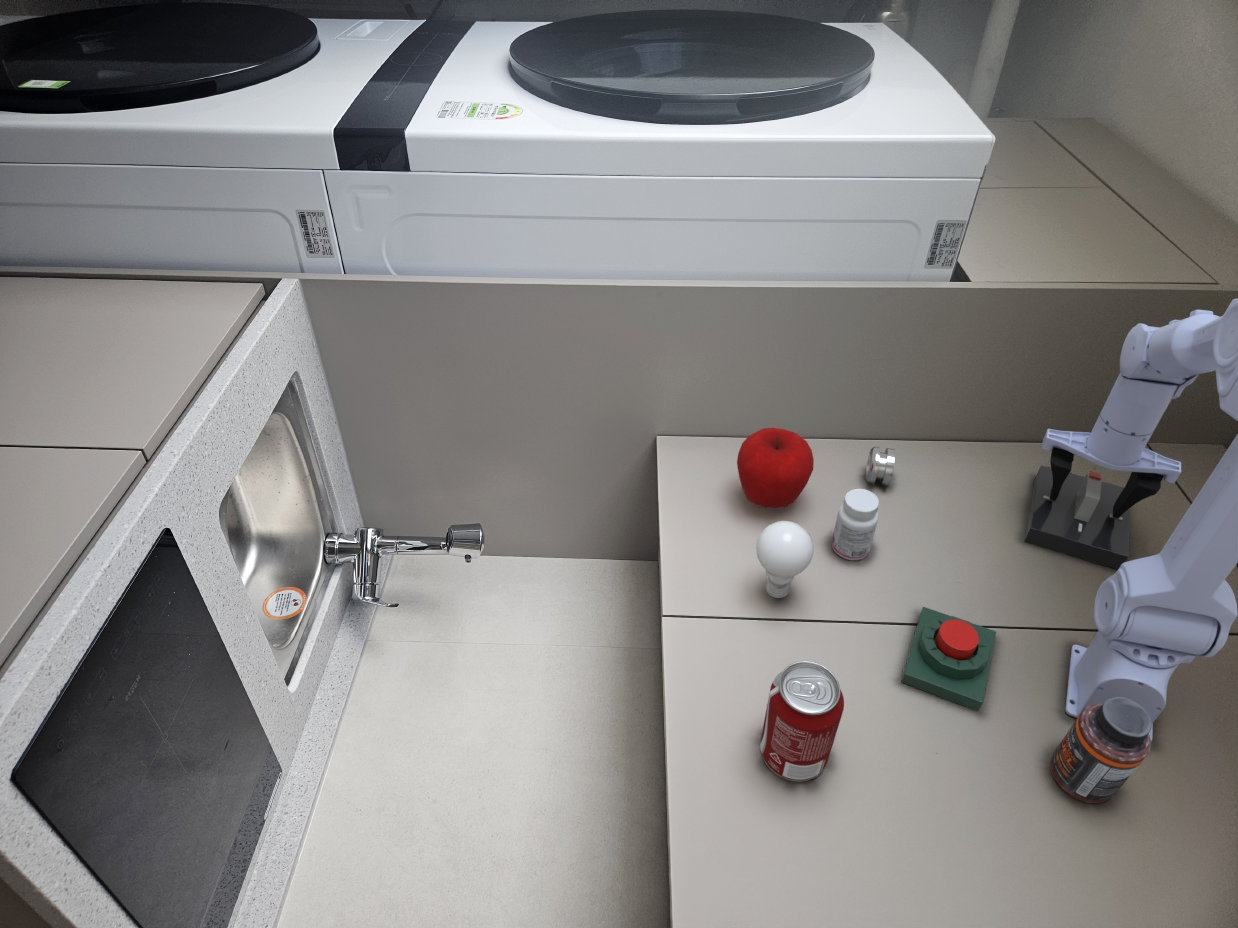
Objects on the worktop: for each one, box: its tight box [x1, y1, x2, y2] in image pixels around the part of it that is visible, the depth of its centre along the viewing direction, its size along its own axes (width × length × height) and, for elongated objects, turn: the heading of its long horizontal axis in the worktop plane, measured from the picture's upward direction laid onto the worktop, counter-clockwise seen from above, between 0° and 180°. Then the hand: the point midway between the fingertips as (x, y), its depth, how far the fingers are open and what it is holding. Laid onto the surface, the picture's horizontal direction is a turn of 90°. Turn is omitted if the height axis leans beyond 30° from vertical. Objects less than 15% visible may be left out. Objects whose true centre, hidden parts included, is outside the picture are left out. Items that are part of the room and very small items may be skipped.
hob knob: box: [1074, 470, 1103, 522], centre depth 101 cm, size 5×2×4 cm, turn 154°
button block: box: [901, 606, 997, 712], centre depth 88 cm, size 10×8×4 cm
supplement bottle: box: [1049, 697, 1152, 804], centre depth 75 cm, size 6×6×11 cm
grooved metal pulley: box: [865, 446, 896, 486], centre depth 109 cm, size 5×3×5 cm, turn 166°
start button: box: [936, 620, 979, 660], centre depth 86 cm, size 4×4×2 cm
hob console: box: [1024, 464, 1131, 570], centre depth 103 cm, size 13×11×3 cm
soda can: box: [759, 660, 845, 783], centre depth 77 cm, size 7×7×12 cm
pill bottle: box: [831, 488, 880, 561], centre depth 99 cm, size 5×5×8 cm
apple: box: [736, 427, 815, 509], centre depth 105 cm, size 10×10×11 cm
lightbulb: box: [755, 520, 814, 599], centre depth 93 cm, size 6×6×11 cm
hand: (1084, 504), depth 102 cm, fingers open, 7 cm apart
